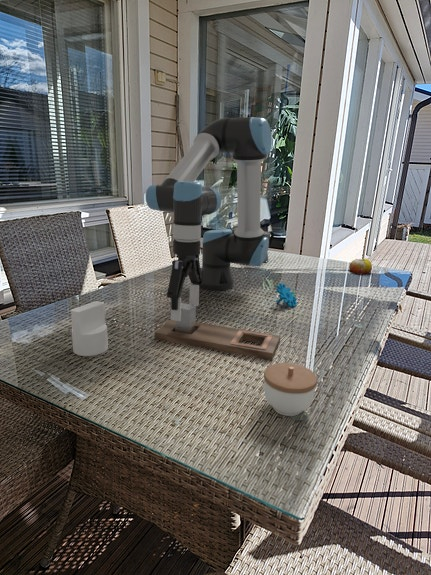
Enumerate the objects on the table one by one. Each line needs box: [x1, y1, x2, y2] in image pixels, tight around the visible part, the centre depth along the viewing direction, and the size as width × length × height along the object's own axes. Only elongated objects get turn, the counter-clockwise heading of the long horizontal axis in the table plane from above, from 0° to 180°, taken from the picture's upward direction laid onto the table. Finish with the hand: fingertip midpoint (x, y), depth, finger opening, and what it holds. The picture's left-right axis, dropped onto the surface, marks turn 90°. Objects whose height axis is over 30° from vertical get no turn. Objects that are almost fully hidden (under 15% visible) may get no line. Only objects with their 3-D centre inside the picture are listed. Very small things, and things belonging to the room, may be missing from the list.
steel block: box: [175, 302, 197, 335], centre depth 117 cm, size 4×4×9 cm
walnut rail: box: [154, 319, 281, 361], centre depth 115 cm, size 12×34×2 cm, turn 71°
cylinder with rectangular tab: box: [70, 300, 109, 357], centre depth 106 cm, size 9×9×12 cm
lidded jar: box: [263, 362, 318, 417], centre depth 83 cm, size 11×11×9 cm
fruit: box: [348, 258, 373, 275], centre depth 198 cm, size 11×10×8 cm
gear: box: [275, 282, 298, 308], centre depth 147 cm, size 11×6×10 cm
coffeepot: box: [260, 226, 275, 263], centre depth 211 cm, size 15×9×18 cm, turn 125°
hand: (185, 312), depth 116 cm, fingers open, 13 cm apart
